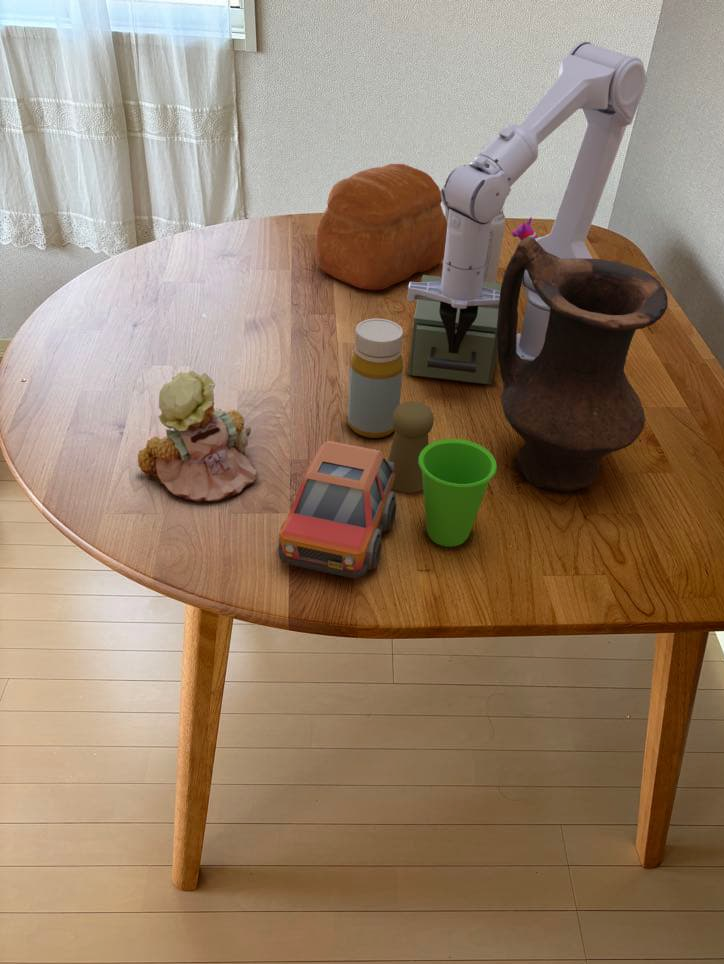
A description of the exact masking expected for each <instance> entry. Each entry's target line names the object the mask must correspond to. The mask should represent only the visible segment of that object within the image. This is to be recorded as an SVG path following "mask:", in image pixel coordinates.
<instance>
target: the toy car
mask: <svg viewBox="0 0 724 964" xmlns="http://www.w3.org/2000/svg"><path fill="white" fill-rule="evenodd" d="M394 479H395V473H394V462H390V461H388V460H387V459H386V458H385V456H384V454H383V453H382V451H381V450H379V449H374V448H370V447H369V448H368V447H363V446H358V445H352V444H349V443H345V442H344V443H343V442H339V441H334V440H333V441H332V440H329V439H328V440H326V441H325V442H323V443H322V444H321V445H320V446H319V448H318V450H317V452H316V453H315V456H314V457H313V459H312V461H311V463H310V465H309V466H308V469H307V470H306V472H305V474H304V476H303V478H302V481H301V483H300V486H299V489H298V491H297V493H296V496H295V499H294V501H293V503H292V506H291V507H290V510H289V513H288V514H287V516H286V519H285V520H284V521H283V522H282V526H281V528H280V531H279V533H278V536H279V538H278V550H277V551H278V557H279V559H280V560H281V562H282V563H283V564H285V565H290V566H295V567H299V568H304V569H308V570H312V571H316V572H321V573H327V574H331V575H336V576H341V577H346V578H349V579H350V578H351V579H358V578H361V577H363V576H366V574H367V572H368V571H371V570H375V569H376V568H377V566H378V564H379V561H380V557H381V553H382V546H383V545H382V544H383V543H382V541H383V540H382V534H383V532H385V531H390V530H391V529H392V527H393V524H394V521H395V517H396V511H397V502H396V501H397V500H396V492H395V491H393V489H392V487H393V483H394Z"/></svg>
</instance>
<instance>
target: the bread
mask: <svg viewBox="0 0 724 964" xmlns="http://www.w3.org/2000/svg"><path fill="white" fill-rule="evenodd" d="M441 203H443V202H442V199H441V189H440V186H439V185H438V184H437V183H436V182H435V180H434V179H433V177H432V176H430V174H428V173H427V172H425V171H423V170H421V169H418V168H415V167H413V166H410V165H407V164H404V163H390V164H389V163H388V164H385V165H384V166H383V165H382V166H380V167H378V166H377V167H371V168H367V169H365V170H361V171H358V172H356V173H354V174H352V175H350V176H349V177H347V178H344V179H341V180H339V181H337V182H336V183H335V184H333V186H332V188H331V189H330V191H329V193H328V197H327V201H326V204H327V207H326V209H325V210H324V212H323V213H322V215H321V217H320V219H319V221H318V222H317V226H316V231H315V238H314V242H315V256H316V259H317V263H318V266H319V268H320V269H321V270H322V271H323V272H324V273H326V274H327V275H329V276H331V277H333V278H334V279H337V280H339V281H341V282H343V283H346V284H348V285H350V286H353V287H356V288H358V289H363V290H368V291H382V290H385V289H387V288H389V287H391V286H393V285H396V284H398V283H400V282H403V281H406V280H408V279H409V278H411V277H412V276H413V275H414V274H416V273H417V274H418V273H424V272H427V271H429V270H430V269H432V268H434V267H435V266H437V265H438V264H440V263H441V262H443V261H444V253H445V243H446V234H447V225H448V222H447V221H446V218H445V212H444V211H443V208H442V205H441Z"/></svg>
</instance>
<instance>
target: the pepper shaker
mask: <svg viewBox="0 0 724 964" xmlns="http://www.w3.org/2000/svg"><path fill="white" fill-rule="evenodd" d="M434 416H435V415H434V413H433V411H432V409H431V407H429V406H428V405H427V404H425V403H423V402H420V401H414V400H410V401H409V400H408V401H404V402H400V404H399V405H398V406H397V407H396V409H395V410H394V412H393V415H392V424H393V427H394V429H395V430H394V434H393V439H392V441H391V447H390V450H389V455H388V460H387V461H390V462H394V473H395V479H394V483H393V487H392V490H394V491H397V492H400V493H404V494H405V493H407V494H412V493H413V494H415V493H419V492H421V491H424V490H423V478H422V469H421V468H420V465H419V463H418V462H419V455H420V453H421V451H422V450H423V449H424V448H425V447H426V446H427V445H429V434H430V433H431V431H432V429H433V427H434V421H435V417H434Z"/></svg>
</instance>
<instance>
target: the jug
mask: <svg viewBox="0 0 724 964" xmlns="http://www.w3.org/2000/svg"><path fill="white" fill-rule="evenodd" d="M525 270H527V271H528V274H529V277H530V279H531V280H532V283H533V286H534V288H535V290H536V292H537V294H538V295H539V297H540V298H541V299H542V300H543V301H544V302H545V304H546V305H547V306H548V307H550V315H549V321H548V326H547V330H546V334H545V342H544V345H543V348H542V350H541V352H540V354H539V355H538V356H537V357H536V358H535V359H534V360H533V361H527V360H522V359H521V358H520V356H519V355H518V354H517V353H516V336H517V328H518V321H519V320H518V319H519V311H518V308H519V300H520V293H521V287H522V284H521V283H522V279H523V275H524V271H525ZM501 284H502V285H501V290H500V299H499V309H498V319H497V351H496V358H497V362H498V368H499V373H500V377H501V382H502V391H501V406H502V411H503V415H504V417H505V419H506V421H507V422H508V424H509V425H510V427H511V428H512V430H514V431H515V432H516V433H517V435H519V436H520V437H521V439H522V440H523V441H524V442H525V443H524V444H523V445H522V446H521V448H520V449H519V452H518V454H517V466H518V468H519V470H520V471H521V472H522V474H524V476H525V477H524V478H526V480H528V481H529V482H530V483H532V484H534V485H535V486H537V487H538V488H539V487H540V488H542V489H544V490H545V489H546V490H549V491H552V492H553V491H554V492H563V493H564V492H565V493H566V492H567V493H568V492H573V491H580V490H583V489H586V488H588V487H589V486H590V485H591V484H592V483H594V482H595V481H596V479H597V478H598V475H599V474H600V467H601V466H600V462H599V461H600V460H601V459H602V458H604V457H607V455H609V454H612V453H614V452H617V451H619V450H622V449H623V450H624V449H626V448H627V447H629V446H631V445H632V444H633V443H635V441H636V440H637V439H638V438H639V437H640V435H641V434H642V432H643V431H644V429H645V425H646V416H645V415H646V414H645V410H644V407H643V405H642V402H641V399H640V397H639V395H638V394H637V392H636V390H635V389H634V387H633V386H632V384H631V383H630V382H629V380H628V377H627V376H626V372H625V366H626V363H627V357H628V353H629V349H630V346H631V343H632V341H633V338H634V336H635V333H636V330H641V329H645V328H648V327H650V326H653V325H654V324H655V323H657V321H659V320H660V319H662V317H663V316H664V315H665V313H666V310H667V309H668V304H669V303H668V301H669V300H668V295H667V290H666V288H665V287H664V286H663V285H662V283H661V282H660V281H659V280H658V279H657V278H656V277H654V276H653V275H652V274H650V273H649V272H647V271H645V270H643V269H641V268H638V267H635V266H633V265H630V264H627V263H623V262H619V261H615V260H614V261H613V260H609V259H601V258H593V259H585V258H574V259H558V258H556V257H554V256H552V255H550V254H548V253H547V252H546V251H545V250H544V249H543V248H542V247H541V246H540V244H539V243H538V242H537V241H536V240H535V239H534V238H533V237H527V238H524V239H522V240H521V239H520V242H519V243H518V245H517V246H516V249H515V251H514V253H513V254H512V255H511V257H510V260H509V262H508V264H507V266H506V268H505V271H504V272H503V277H502V281H501Z"/></svg>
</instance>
